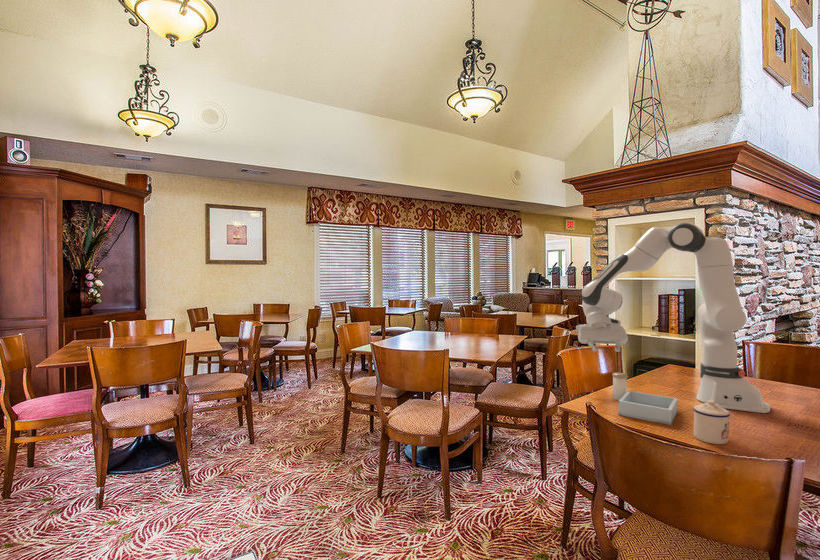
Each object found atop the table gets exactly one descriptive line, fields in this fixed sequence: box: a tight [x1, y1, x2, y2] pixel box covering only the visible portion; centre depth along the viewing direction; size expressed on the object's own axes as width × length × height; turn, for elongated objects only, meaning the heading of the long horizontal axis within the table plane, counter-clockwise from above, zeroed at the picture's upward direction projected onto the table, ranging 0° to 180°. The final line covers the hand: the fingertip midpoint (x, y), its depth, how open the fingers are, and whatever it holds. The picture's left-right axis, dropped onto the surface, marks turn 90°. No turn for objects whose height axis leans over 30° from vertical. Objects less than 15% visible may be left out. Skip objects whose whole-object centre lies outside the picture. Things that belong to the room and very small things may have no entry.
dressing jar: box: [612, 371, 628, 401], centre depth 168 cm, size 5×5×10 cm
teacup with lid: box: [693, 400, 731, 445], centre depth 130 cm, size 12×9×12 cm
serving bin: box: [617, 390, 678, 426], centre depth 151 cm, size 16×16×5 cm
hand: (606, 350), depth 180 cm, fingers open, 8 cm apart
